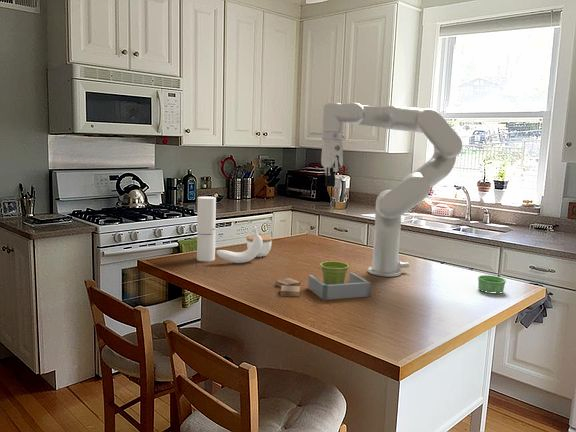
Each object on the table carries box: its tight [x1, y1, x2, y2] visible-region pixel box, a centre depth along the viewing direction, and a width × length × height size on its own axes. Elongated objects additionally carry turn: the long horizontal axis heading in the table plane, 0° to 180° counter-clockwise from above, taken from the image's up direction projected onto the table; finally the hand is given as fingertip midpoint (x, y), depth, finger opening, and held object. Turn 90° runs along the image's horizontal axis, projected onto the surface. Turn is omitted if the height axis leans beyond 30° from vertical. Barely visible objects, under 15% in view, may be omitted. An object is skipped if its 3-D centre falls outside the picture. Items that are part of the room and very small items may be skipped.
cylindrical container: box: [196, 195, 217, 262], centre depth 207 cm, size 7×7×25 cm
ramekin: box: [477, 274, 507, 293], centre depth 179 cm, size 9×9×4 cm
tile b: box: [280, 285, 301, 297], centre depth 168 cm, size 6×6×2 cm
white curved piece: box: [215, 224, 263, 264], centre depth 204 cm, size 5×19×15 cm, turn 120°
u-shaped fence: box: [307, 271, 372, 301], centre depth 171 cm, size 16×13×4 cm
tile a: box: [274, 277, 301, 288], centre depth 176 cm, size 6×6×2 cm
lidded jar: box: [246, 232, 273, 258], centre depth 218 cm, size 11×11×9 cm
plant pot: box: [320, 260, 350, 285], centre depth 173 cm, size 9×9×9 cm
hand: (329, 186), depth 195 cm, fingers closed
